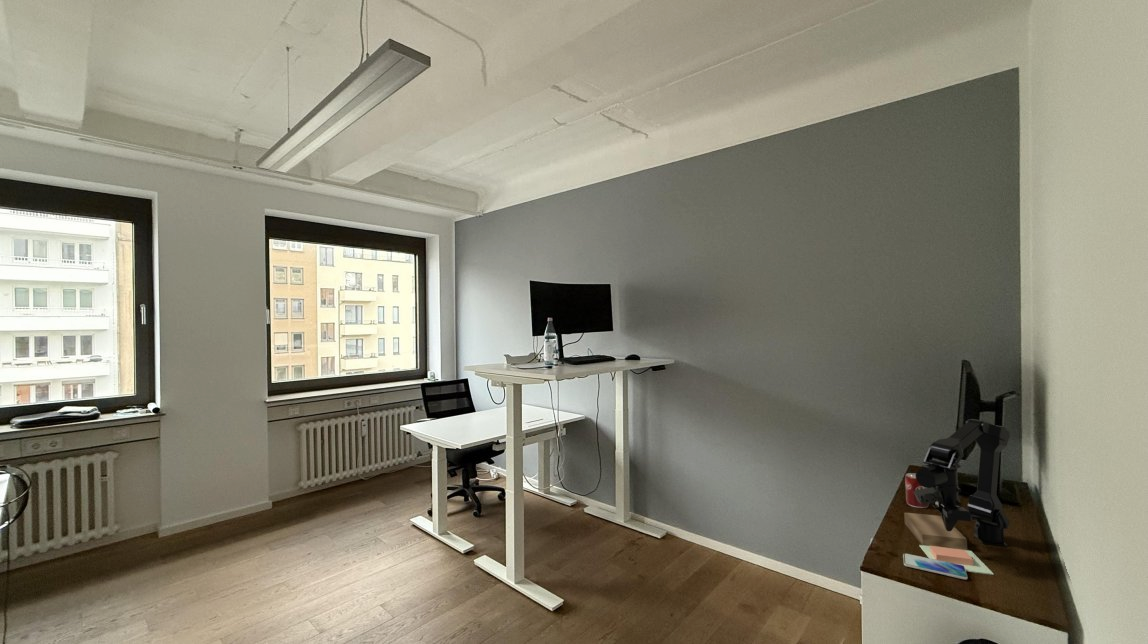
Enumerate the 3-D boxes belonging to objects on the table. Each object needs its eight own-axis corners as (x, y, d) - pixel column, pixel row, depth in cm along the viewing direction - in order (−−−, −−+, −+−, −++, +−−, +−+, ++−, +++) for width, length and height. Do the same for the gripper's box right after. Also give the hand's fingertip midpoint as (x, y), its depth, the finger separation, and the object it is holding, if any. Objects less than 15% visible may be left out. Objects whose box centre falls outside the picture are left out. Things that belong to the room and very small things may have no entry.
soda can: (931, 505, 180) (930, 476, 181) (924, 510, 176) (923, 480, 176) (910, 500, 186) (909, 471, 187) (903, 504, 182) (902, 475, 182)
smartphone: (903, 552, 144) (964, 565, 135) (903, 555, 144) (964, 568, 135) (903, 563, 138) (968, 578, 129) (903, 566, 138) (968, 580, 129)
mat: (971, 551, 145) (971, 550, 145) (993, 574, 132) (993, 573, 132) (919, 545, 150) (919, 544, 150) (936, 567, 137) (936, 566, 137)
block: (972, 559, 136) (972, 565, 136) (964, 549, 142) (964, 556, 142) (936, 554, 140) (936, 560, 140) (929, 545, 145) (930, 551, 145)
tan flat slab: (944, 527, 162) (943, 516, 162) (967, 551, 145) (966, 539, 145) (904, 523, 166) (904, 512, 166) (922, 546, 150) (922, 534, 150)
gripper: (906, 471, 155) (908, 516, 155) (927, 490, 138) (929, 540, 138) (945, 474, 151) (947, 519, 151) (972, 494, 134) (974, 546, 134)
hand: (948, 530), depth 144 cm, fingers closed
